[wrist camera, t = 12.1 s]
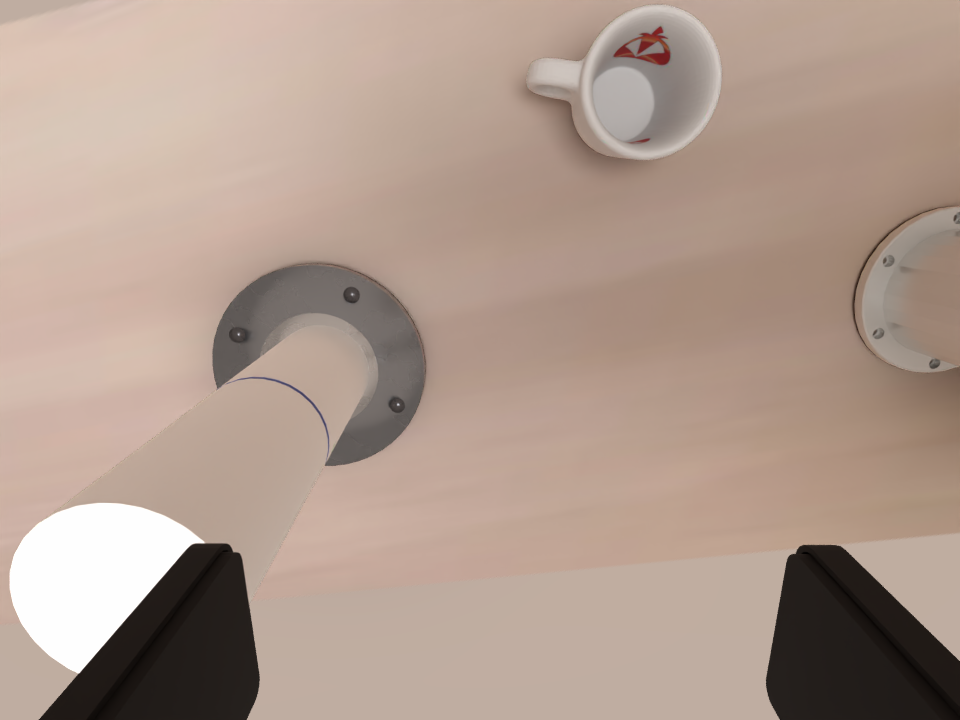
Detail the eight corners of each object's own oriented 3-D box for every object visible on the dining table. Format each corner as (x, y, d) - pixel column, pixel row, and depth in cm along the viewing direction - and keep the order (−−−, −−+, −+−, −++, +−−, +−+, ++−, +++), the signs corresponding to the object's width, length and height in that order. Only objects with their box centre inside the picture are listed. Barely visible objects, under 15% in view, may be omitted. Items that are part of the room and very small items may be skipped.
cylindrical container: (372, 331, 41) (238, 516, 17) (365, 419, 43) (234, 697, 19) (276, 319, 41) (-2, 490, 17) (272, 408, 42) (19, 677, 18)
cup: (509, 149, 39) (519, 137, 31) (531, 25, 37) (547, -22, 29) (656, 176, 40) (701, 170, 32) (686, 55, 37) (742, 18, 30)
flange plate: (459, 319, 42) (458, 323, 41) (377, 488, 46) (374, 495, 45) (260, 226, 40) (254, 227, 39) (192, 411, 44) (184, 417, 43)
